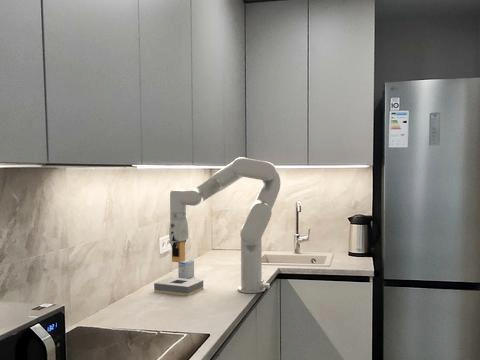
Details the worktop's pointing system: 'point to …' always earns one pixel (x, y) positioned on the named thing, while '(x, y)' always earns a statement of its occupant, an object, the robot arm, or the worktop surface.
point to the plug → (180, 252)
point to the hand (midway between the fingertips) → (178, 255)
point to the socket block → (178, 286)
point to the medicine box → (186, 269)
